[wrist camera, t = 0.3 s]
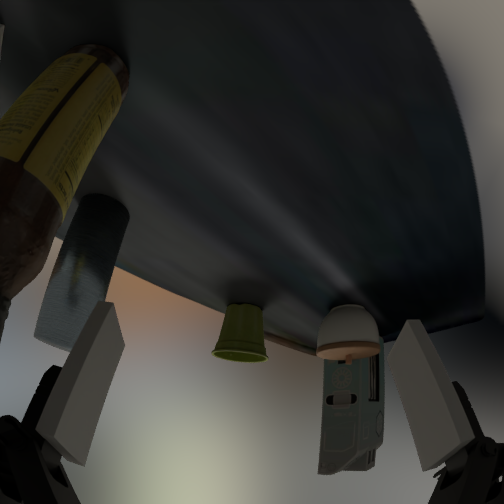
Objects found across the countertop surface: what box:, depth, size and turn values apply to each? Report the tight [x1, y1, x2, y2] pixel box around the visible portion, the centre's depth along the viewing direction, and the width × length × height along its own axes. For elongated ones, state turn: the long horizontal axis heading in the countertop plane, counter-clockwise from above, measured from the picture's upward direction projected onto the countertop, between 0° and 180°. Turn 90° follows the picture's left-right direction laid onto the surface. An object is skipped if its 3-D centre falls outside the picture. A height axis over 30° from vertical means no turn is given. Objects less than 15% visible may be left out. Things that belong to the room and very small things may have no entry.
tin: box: [34, 194, 130, 352], centre depth 26 cm, size 6×6×15 cm
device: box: [318, 336, 385, 475], centre depth 54 cm, size 16×8×30 cm, turn 39°
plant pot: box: [212, 304, 268, 363], centre depth 50 cm, size 9×9×9 cm
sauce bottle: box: [0, 44, 129, 341], centre depth 11 cm, size 6×6×20 cm
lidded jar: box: [316, 304, 381, 364], centre depth 47 cm, size 11×11×9 cm
